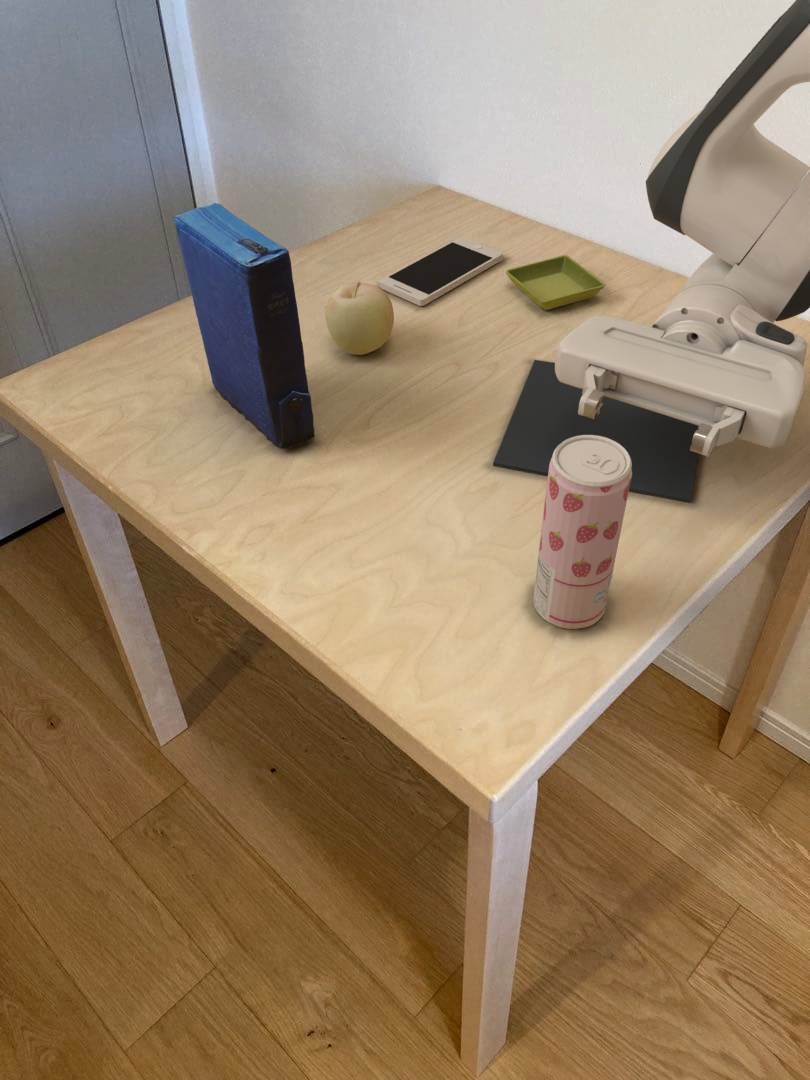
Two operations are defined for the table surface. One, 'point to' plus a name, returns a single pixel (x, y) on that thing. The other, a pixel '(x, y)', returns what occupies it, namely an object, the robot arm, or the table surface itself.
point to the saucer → (555, 282)
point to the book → (248, 321)
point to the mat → (641, 432)
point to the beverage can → (581, 529)
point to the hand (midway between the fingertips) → (641, 428)
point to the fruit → (359, 317)
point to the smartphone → (440, 271)
